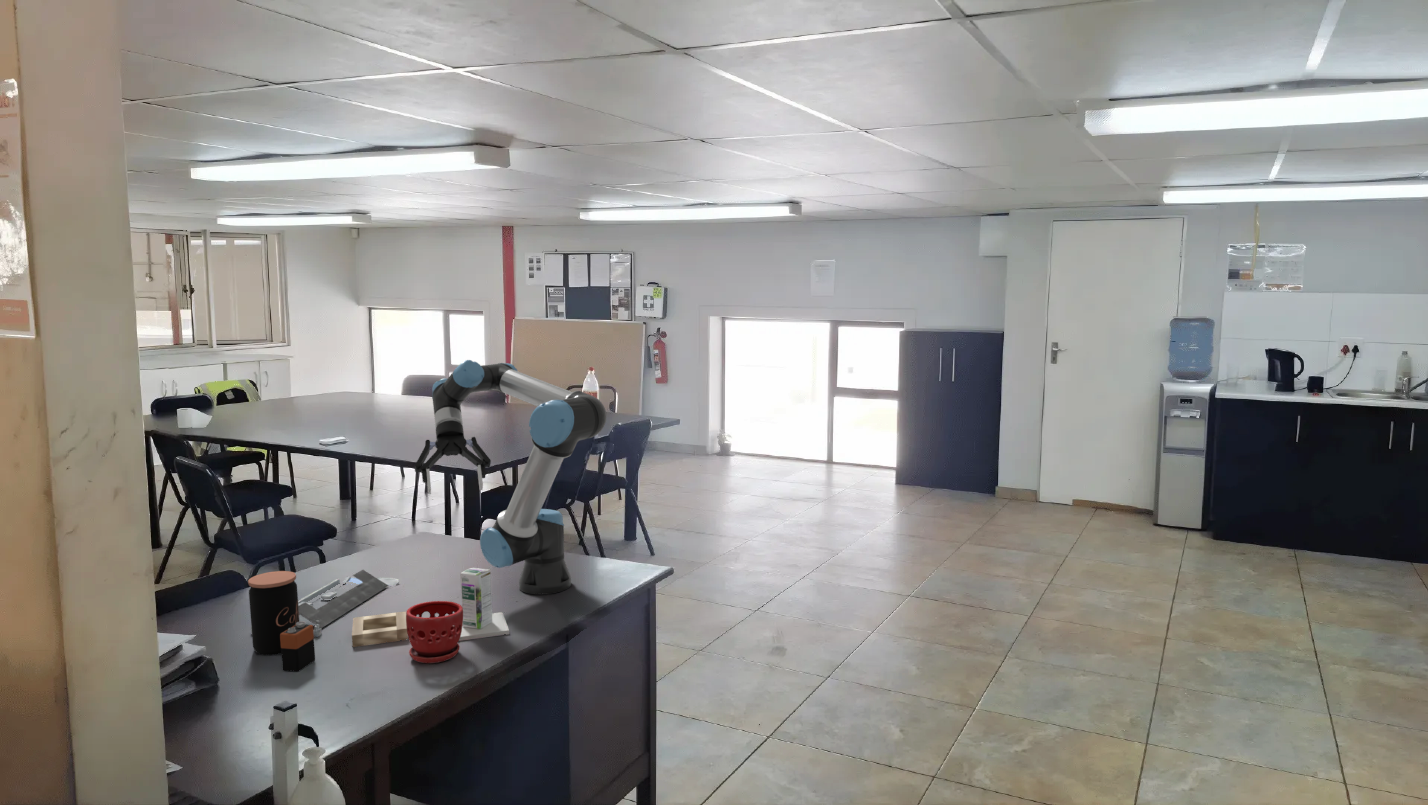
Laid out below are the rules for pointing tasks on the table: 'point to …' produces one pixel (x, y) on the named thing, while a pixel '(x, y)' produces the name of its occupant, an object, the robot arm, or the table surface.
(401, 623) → the wooden holder
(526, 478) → the robot arm
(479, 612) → the syrup box
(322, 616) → the paper cutter
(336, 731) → the table surface
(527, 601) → the table surface
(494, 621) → the white mat
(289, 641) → the battery
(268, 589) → the coffee jar
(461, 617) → the plant pot
